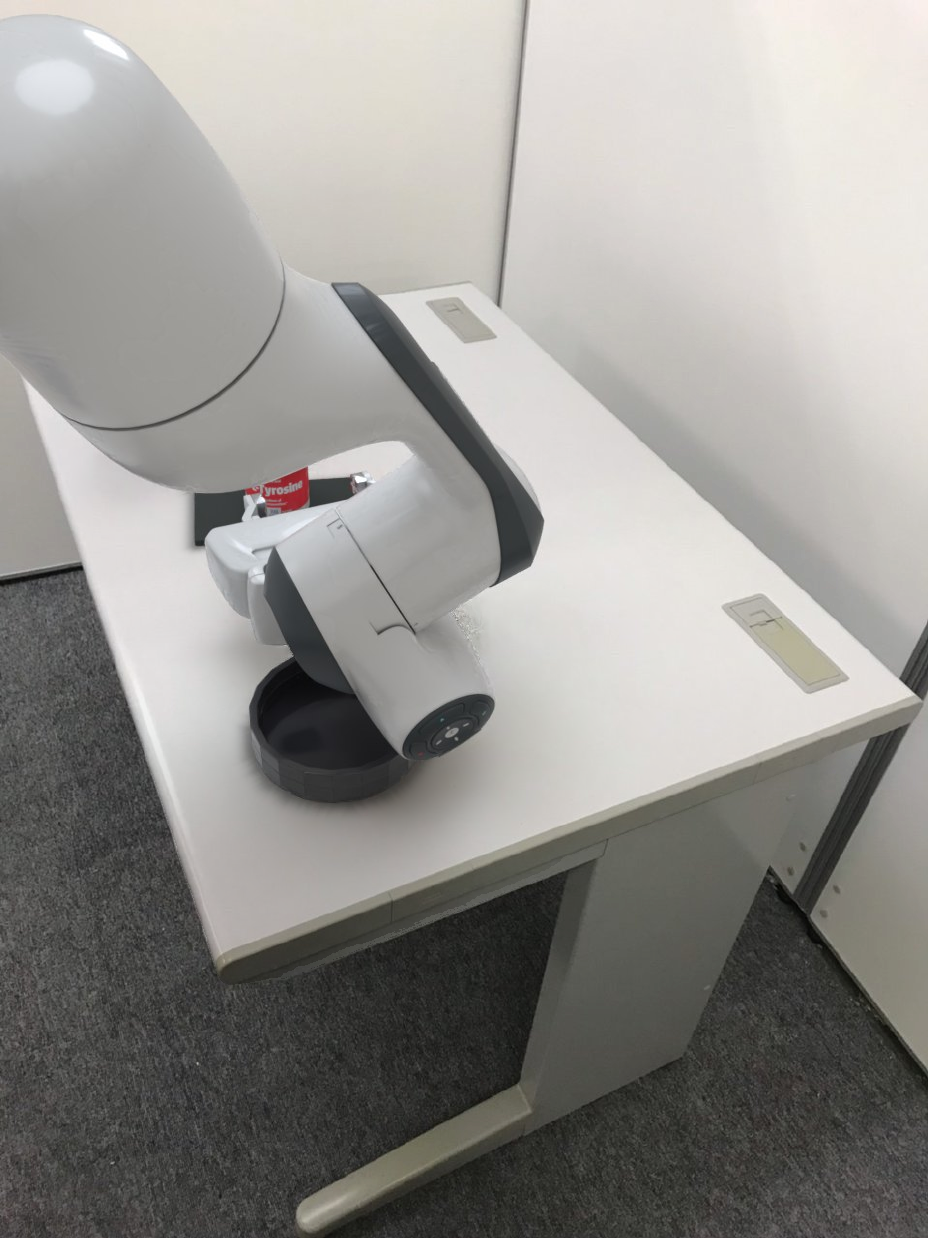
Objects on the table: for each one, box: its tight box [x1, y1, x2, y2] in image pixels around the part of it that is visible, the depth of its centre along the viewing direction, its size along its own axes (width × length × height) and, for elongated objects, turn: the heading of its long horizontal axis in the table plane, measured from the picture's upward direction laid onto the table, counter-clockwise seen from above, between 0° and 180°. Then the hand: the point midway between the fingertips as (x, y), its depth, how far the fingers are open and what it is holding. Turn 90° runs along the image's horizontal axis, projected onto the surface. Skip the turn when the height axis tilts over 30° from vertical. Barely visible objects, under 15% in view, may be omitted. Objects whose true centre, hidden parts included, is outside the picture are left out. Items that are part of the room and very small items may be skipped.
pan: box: [248, 655, 417, 803], centre depth 75 cm, size 13×13×3 cm
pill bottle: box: [245, 466, 310, 517], centre depth 93 cm, size 6×6×11 cm
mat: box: [194, 476, 355, 546], centre depth 97 cm, size 16×9×1 cm, turn 101°
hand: (306, 489), depth 83 cm, fingers open, 8 cm apart
